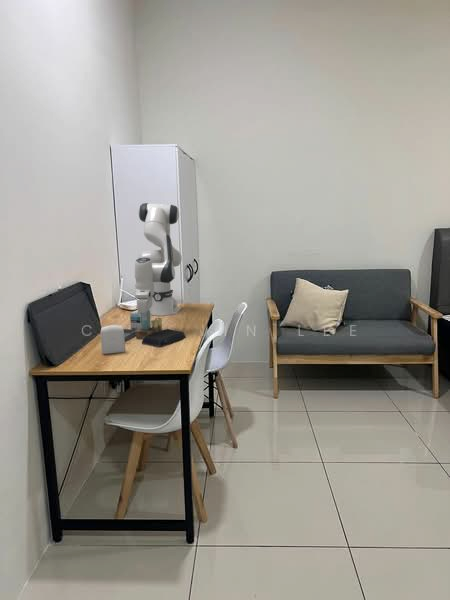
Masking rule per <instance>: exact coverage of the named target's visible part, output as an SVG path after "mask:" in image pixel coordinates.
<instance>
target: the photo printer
mask: <svg viewBox="0 0 450 600" xmlns="http://www.w3.org/2000/svg"><path fill="white" fill-rule="evenodd" d="M124 329H125V328H123V326H122V325H117V324H112V325H105V326H103V327H101V329H100V343H101V345H100V346H101V354H102V355H105V354H116V353H125V352H126V342H125V338H124Z"/></svg>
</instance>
